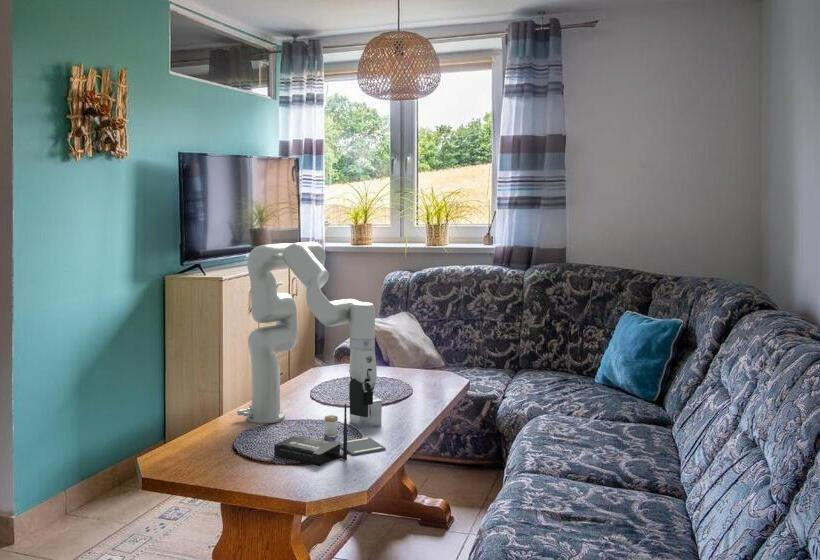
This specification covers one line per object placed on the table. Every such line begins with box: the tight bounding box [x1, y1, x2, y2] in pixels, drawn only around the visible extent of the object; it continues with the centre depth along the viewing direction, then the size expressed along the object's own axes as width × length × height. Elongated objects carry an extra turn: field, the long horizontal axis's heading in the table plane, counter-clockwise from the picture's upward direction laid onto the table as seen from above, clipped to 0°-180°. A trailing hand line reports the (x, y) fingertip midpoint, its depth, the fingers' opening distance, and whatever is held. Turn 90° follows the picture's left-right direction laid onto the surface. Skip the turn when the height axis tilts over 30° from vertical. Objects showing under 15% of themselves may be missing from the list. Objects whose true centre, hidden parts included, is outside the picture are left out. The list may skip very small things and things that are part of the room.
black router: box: [273, 403, 348, 467], centre depth 208 cm, size 20×14×17 cm
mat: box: [336, 436, 387, 457], centre depth 218 cm, size 11×11×1 cm
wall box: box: [348, 394, 384, 430], centre depth 240 cm, size 9×9×9 cm
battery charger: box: [348, 378, 371, 417], centre depth 216 cm, size 7×4×11 cm, turn 59°
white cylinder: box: [324, 414, 339, 436], centre depth 228 cm, size 4×4×6 cm
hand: (361, 400), depth 216 cm, fingers closed on battery charger, 7 cm apart
